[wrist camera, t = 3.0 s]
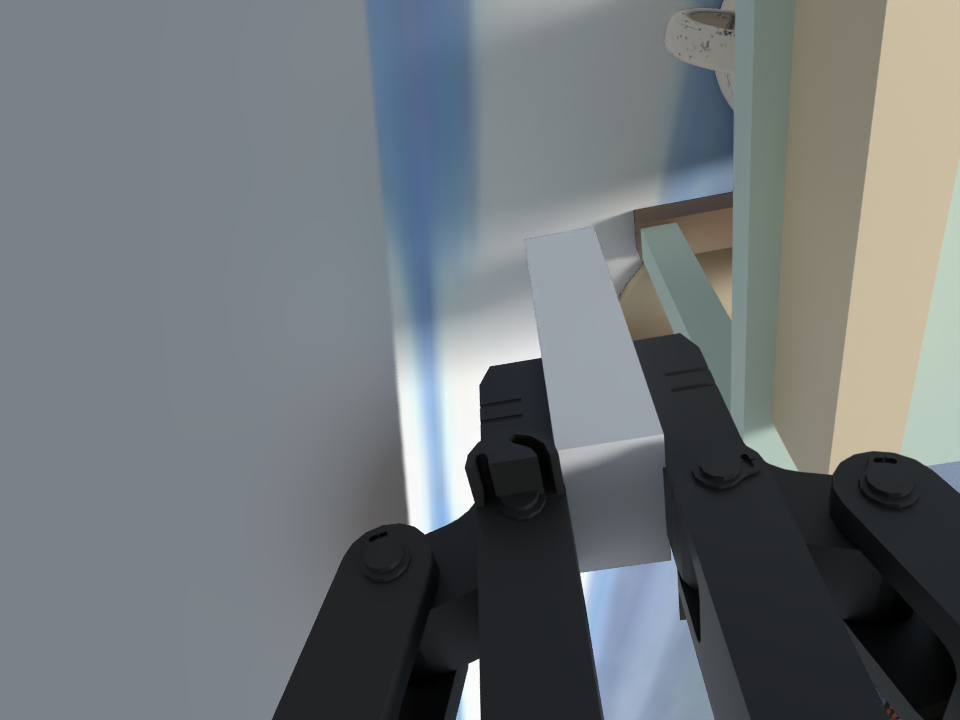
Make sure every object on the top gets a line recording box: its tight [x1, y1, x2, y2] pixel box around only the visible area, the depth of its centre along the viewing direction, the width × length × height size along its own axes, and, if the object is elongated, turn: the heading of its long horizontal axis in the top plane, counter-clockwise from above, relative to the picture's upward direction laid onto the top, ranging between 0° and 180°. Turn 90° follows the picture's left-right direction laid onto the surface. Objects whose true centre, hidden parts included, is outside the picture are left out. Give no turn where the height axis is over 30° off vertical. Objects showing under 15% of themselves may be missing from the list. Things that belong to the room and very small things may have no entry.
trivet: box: [618, 247, 732, 341], centre depth 37 cm, size 14×14×1 cm
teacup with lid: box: [664, 0, 735, 110], centre depth 24 cm, size 12×9×12 cm
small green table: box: [641, 0, 960, 475], centre depth 20 cm, size 17×14×18 cm
